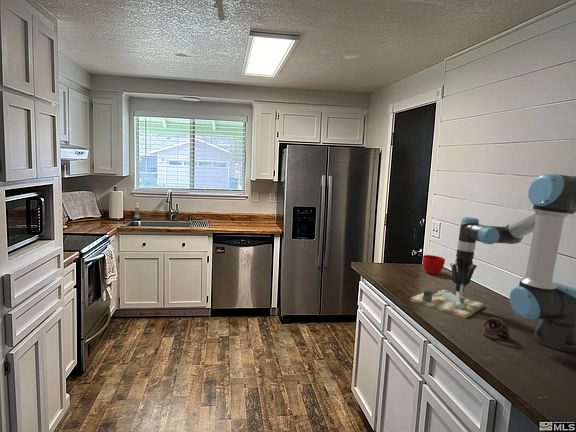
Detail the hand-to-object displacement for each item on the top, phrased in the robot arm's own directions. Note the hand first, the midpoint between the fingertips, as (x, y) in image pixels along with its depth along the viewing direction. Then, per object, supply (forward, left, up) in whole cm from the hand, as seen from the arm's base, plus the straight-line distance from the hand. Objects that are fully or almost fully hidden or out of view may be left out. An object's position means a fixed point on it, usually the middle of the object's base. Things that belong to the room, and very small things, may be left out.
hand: (458, 297), depth 196 cm
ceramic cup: (+34, -50, -4) cm, 61 cm away
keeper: (+10, +10, -2) cm, 14 cm away
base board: (+4, +4, -3) cm, 6 cm away
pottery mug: (-24, +26, -4) cm, 35 cm away
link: (+2, +2, -2) cm, 3 cm away
